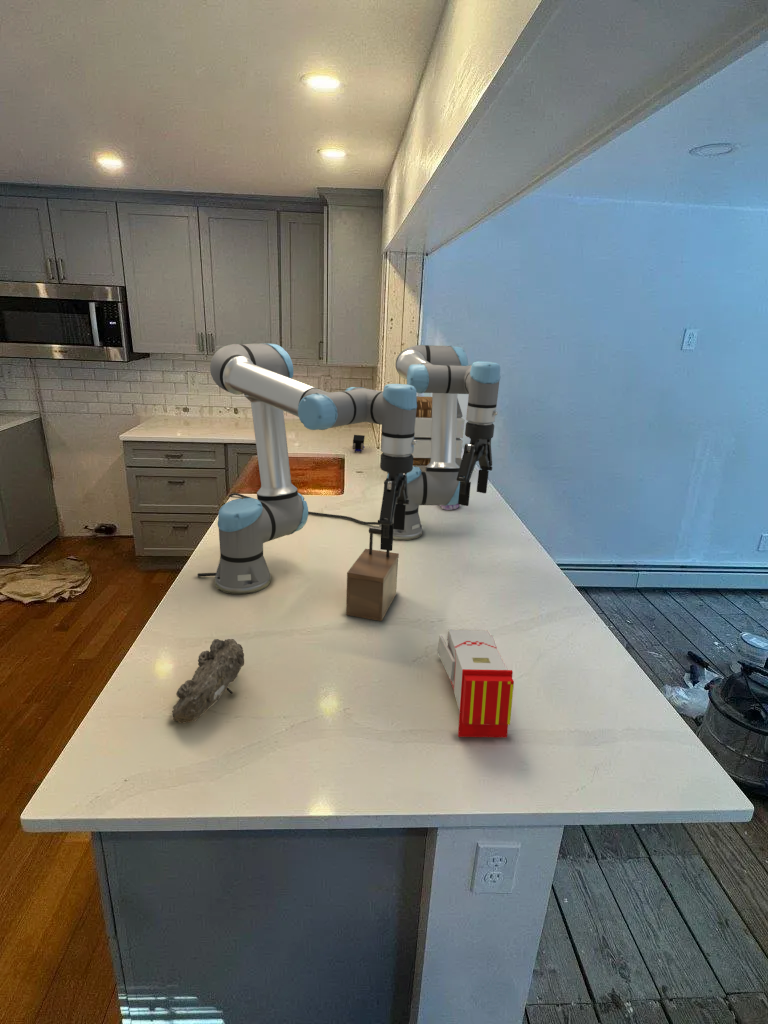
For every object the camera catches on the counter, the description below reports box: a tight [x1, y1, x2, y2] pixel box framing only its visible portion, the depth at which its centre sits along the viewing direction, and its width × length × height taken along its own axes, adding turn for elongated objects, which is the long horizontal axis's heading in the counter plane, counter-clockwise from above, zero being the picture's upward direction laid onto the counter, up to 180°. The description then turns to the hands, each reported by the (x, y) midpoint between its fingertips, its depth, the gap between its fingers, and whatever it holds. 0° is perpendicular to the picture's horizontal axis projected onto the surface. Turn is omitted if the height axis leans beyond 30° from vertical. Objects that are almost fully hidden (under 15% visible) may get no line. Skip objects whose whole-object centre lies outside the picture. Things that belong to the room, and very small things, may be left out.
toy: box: [437, 628, 515, 738], centre depth 117 cm, size 12×13×30 cm
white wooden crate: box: [412, 396, 466, 468], centre depth 268 cm, size 34×33×41 cm
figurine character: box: [351, 434, 365, 454], centre depth 311 cm, size 7×8×15 cm
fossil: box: [171, 638, 245, 724], centre depth 113 cm, size 22×10×15 cm
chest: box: [345, 558, 399, 622], centre depth 150 cm, size 16×10×11 cm, turn 165°
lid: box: [346, 525, 400, 583], centre depth 147 cm, size 16×10×9 cm, turn 165°
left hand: (392, 539), depth 137 cm, fingers open, 13 cm apart
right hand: (472, 498), depth 157 cm, fingers open, 13 cm apart
